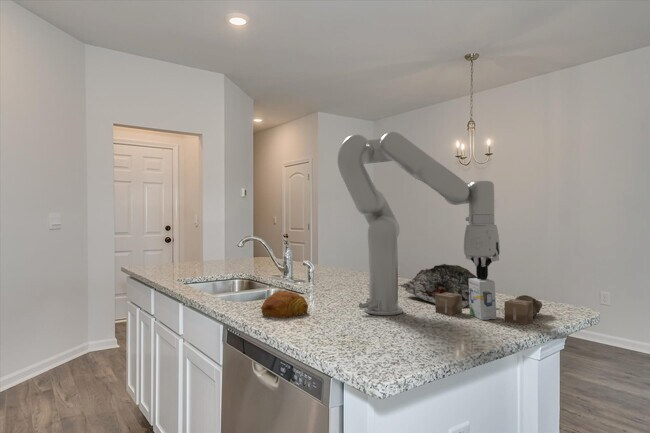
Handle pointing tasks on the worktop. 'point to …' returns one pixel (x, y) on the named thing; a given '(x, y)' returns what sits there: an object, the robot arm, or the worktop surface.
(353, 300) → the worktop surface
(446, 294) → the cardboard box
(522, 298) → the stone
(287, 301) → the croissant
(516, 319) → the walnut block
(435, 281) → the bark piece
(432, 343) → the worktop surface
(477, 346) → the worktop surface
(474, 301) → the ink box
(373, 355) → the worktop surface
